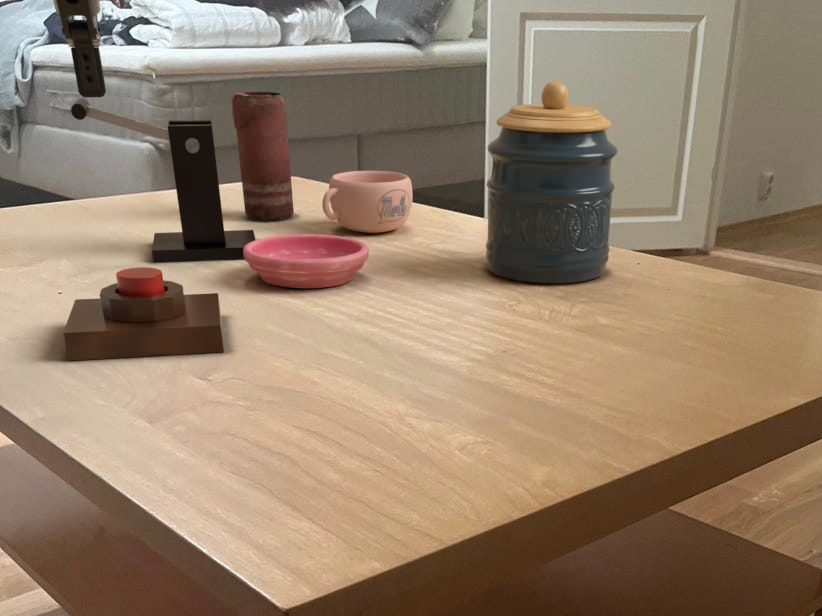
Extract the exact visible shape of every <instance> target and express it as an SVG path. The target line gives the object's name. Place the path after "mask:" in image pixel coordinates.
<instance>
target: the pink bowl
mask: <svg viewBox="0 0 822 616" xmlns="http://www.w3.org/2000/svg"><path fill="white" fill-rule="evenodd" d="M243 254H244V259H243V260H245V262H247V263H248V265H249V267H250V268H251V269H252V270H253V271H255V272H257V274H258V275H259V277H260V279H261V280H262V281H264V282H265V283H267V284H270V285H273V286H276V287H277V286H278V287H282V288H292V289H321V288H331V287H335V286H340V285H344V284H347V283H349V282H351V281H353V280H354V279H355V278H356V275H357V274H358V271H360V270H361V269H362V268H363V267H364V266H365V262H367V261H368V259H369V247H368V245H367V244H366V243H364V241H360V240H359V239H354V238H350V237H345V236H341V235H340V236H339V235H330V234H316V233H314V234H313V233H302V234H301V233H300V234H283V235H274V236H269V237H263V238H259V239H256V240H255V241H252V242H250V243H248V244H247V245H245V247H244V249H243Z"/></svg>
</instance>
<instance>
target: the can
mask: <svg viewBox="0 0 822 616" xmlns="http://www.w3.org/2000/svg"><path fill="white" fill-rule="evenodd" d="M231 96H232V97H231V99H230V100H231V102H230V103H231V116H232V120H233V125H234V129H235V130H236V140H237V148H238V158H239V167H240V177H241V186H242V195H243V196H242V198H243V204H244V213H245V215H246V217H247V218H248V219H249V220H252V221H256V222H257V221H258V222H279V221H280V222H281V221H286V220H290V219H291V218H292V217H293V215H294V213H295V211H294V198H293V187H292V186H293V185H292V173H291V162H290V149H289V138H288V137H289V136H288V125H287V123H288V122H287V114H286V113H287V112H286V102H285V99H284V97H283V96H282V93H280V92H274V91H273V92H271V91H244V92H235V93H233V94H232V95H231Z"/></svg>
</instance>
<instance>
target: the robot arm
mask: <svg viewBox="0 0 822 616" xmlns="http://www.w3.org/2000/svg"><path fill="white" fill-rule="evenodd" d="M53 5H54V9H55V12H56V14H58V15H59V17H60V21H61V25H62V26H61V32H62V35H64V38H65V42H66V43H67V46H68V47H69V48H70V51H71V52H70V53H71V58H72V63H73V68H74V73H75V78H76V79H75V80H76V85H77V90H78V94H79V96H81V97H82V98H104V96H105V95H106V92H107V88H106V82H105V75H104V70H103V69H104V68H103V64H102V58H101V52H100V46H101V42H102V37H101V34H100V32H101V31H102V30H101V25H100V24H99V21H98V19H99V18H98V14H100V12H101V3H100V0H53ZM75 16H77V17H84V18H85V19H75Z"/></svg>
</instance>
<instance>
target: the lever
mask: <svg viewBox="0 0 822 616" xmlns="http://www.w3.org/2000/svg"><path fill="white" fill-rule="evenodd" d="M70 113H71V115H72V117H73V118H74V119H76V120H80V121H81V120H84V119H85V118H89V119H92V120H95V121H100V122H103V123H106V124H110V125H113V126H116V127H119V128H123V129H127V130H129V131H134V132H137V133H140V134H144V135H147V136H151V137H154V138H158V139H161V140H165V141H167V142H170V140H169V133H168V127H167V128H166V127H163V126H161V125H160V126H159V125H156V124H154V123H149V122H146V121H143V120H139V119H136V118H133V117H129V116H126V115H122V114H120V113H116V112H112V111H109V110H106V109H104V108H103V109H102V108H99V107H96V106H92V105H91V104H90V102H89V101H88V100H86V99H84V98H78V99H77V100H76V102H74V103H73V104H72V106H71V107H70Z"/></svg>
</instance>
